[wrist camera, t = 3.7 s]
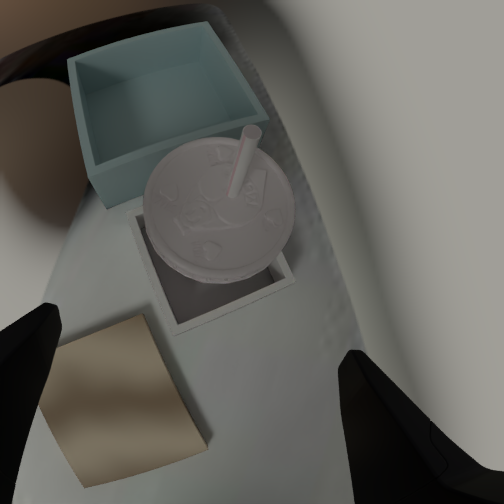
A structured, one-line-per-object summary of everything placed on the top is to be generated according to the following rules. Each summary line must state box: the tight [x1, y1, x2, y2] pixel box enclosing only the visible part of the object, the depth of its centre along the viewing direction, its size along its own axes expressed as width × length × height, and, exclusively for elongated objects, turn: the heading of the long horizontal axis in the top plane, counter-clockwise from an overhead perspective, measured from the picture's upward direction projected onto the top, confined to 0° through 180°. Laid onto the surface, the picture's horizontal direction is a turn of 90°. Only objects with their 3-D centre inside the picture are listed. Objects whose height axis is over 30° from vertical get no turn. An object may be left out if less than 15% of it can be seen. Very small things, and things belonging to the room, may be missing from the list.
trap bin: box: [67, 22, 270, 209], centre depth 21 cm, size 12×12×5 cm
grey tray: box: [126, 206, 296, 336], centre depth 21 cm, size 8×8×2 cm
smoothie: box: [143, 125, 296, 284], centre depth 15 cm, size 6×6×14 cm
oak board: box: [38, 314, 208, 488], centre depth 18 cm, size 10×10×1 cm
